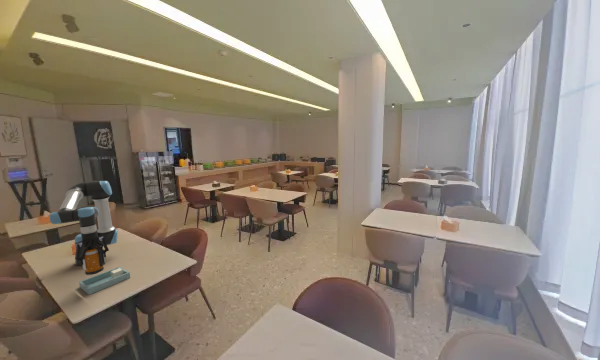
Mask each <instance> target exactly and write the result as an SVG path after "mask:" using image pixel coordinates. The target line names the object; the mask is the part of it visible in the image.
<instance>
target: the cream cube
mask: <svg viewBox="0 0 600 360" xmlns="http://www.w3.org/2000/svg"><path fill="white" fill-rule="evenodd" d="M120 275H123V270H122V269H120V268H118V269H116V270H113V271H111V277H112V279H113V278H115V277H118V276H120Z"/></svg>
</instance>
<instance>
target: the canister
mask: <svg viewBox="0 0 600 360" xmlns="http://www.w3.org/2000/svg"><path fill="white" fill-rule="evenodd" d="M97 243H98V242H97ZM98 244H99V245H101V246H99V245H97V244H95V243H93V244H92V246H91V247H88V249H87V251H86V253H85V256H84V258H83V259H85V265H86V270H84V274H85V275H87V276H91V275H93V276H94V275H97V274H100V273H101V272H102V271H104V269H105V266H104V265H106V261H105V262H104V259H105V258H104V255H103V249H104V246H103V245H102V244H100V243H98ZM83 246H84V245H83Z"/></svg>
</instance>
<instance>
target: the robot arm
mask: <svg viewBox="0 0 600 360" xmlns="http://www.w3.org/2000/svg"><path fill="white" fill-rule="evenodd" d="M112 194H113V191H112V186H111V185H110V182H109V181H108V180H98V181H84V182H83V181H81V182H79V183H77V184H74V185H72V186H70V187H69V188H68V189H67V190H66V192H65V195H64V196H65V198H64V199H63V202H62V204H61V205H60V207H59V209H58V211H54V212H51V213H50V214H49V222H50V224H52V225H61V224H67V223H73V222H79V229H80V234H77V235H76V236H75V237H74V244H75V245H74V246H75V249H76V250H75V256H74V263H75V264H74V265H75V266H78V267H79V266H82V269H83V270H84V271H85V270H86V265H85V259H83V258H84V256H85V253H86V251H87V249H88V247H91V246H92V244H93V243H95V244H97V245H99V244H98V243H100V244H102V245H103V255H104V262H105V263H106V261H105V260H106V259H105V258H107V254H106V253H107V252H109V247H108V246H111V245H114V244H117V242H118V238H119V230H118V229H117V228H116V226H114V225H113V222H112V215H111V209H110V203H109V199H110V197H111V195H112ZM83 198H90V200H92V201H93V202H94V203H93V204H94V206H84V207H81V208H78V209H77V207H78V205H79V202H80V201H81V200H82V199H83ZM96 220H97V222H96ZM97 224H98V229H97ZM97 242H98V243H97ZM83 245H84V246H83ZM99 246H101V245H99Z"/></svg>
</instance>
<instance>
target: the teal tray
mask: <svg viewBox="0 0 600 360" xmlns="http://www.w3.org/2000/svg"><path fill="white" fill-rule="evenodd" d="M118 268H120V269H122V270H123V275H120V276H118V277H115V278H113V279H112V277H111V271H113V270H116V269H118ZM130 278H131V272H130V271H129V270H126V269H124V268H123V267H121V266H118V267H116V268H112V269H109V270H107V271H104V272H102V273H101V272H100V273H98V274H95V275H93V276H90V277H88V278H86V279H83V280H80V281H79V282H78V283H79V284H78V285H79V288H80V289H81V290H83V291H84V292H85V293H86V294H87V295H89V296H90V295H92V294H95V293H96V292H98V291H99V292H100V291H103V290H104V289H106V288H109V287H111V286H114V285H116V284H118V283H120V282H124V281H125V280H126V281H127V279H130Z"/></svg>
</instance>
